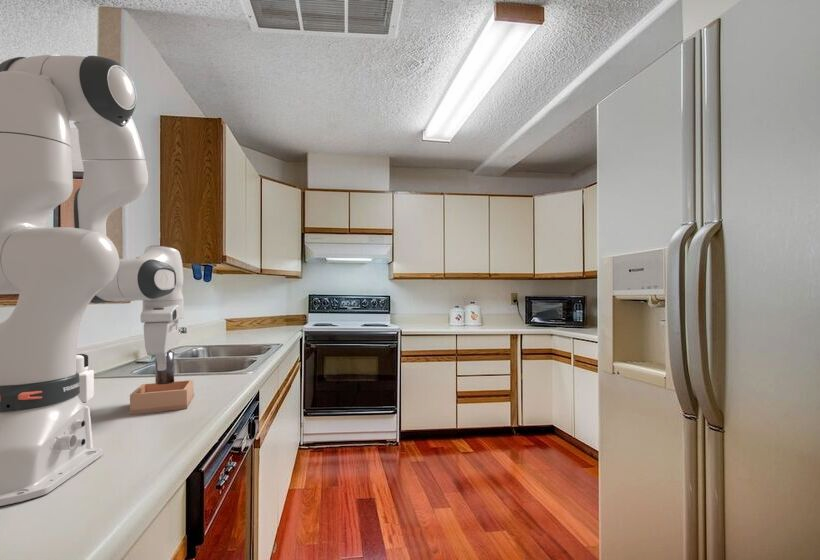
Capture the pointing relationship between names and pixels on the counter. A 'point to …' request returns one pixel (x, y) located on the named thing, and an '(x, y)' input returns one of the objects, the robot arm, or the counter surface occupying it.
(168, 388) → the tray
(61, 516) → the counter surface
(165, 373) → the battery cell
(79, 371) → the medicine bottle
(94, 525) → the counter surface
